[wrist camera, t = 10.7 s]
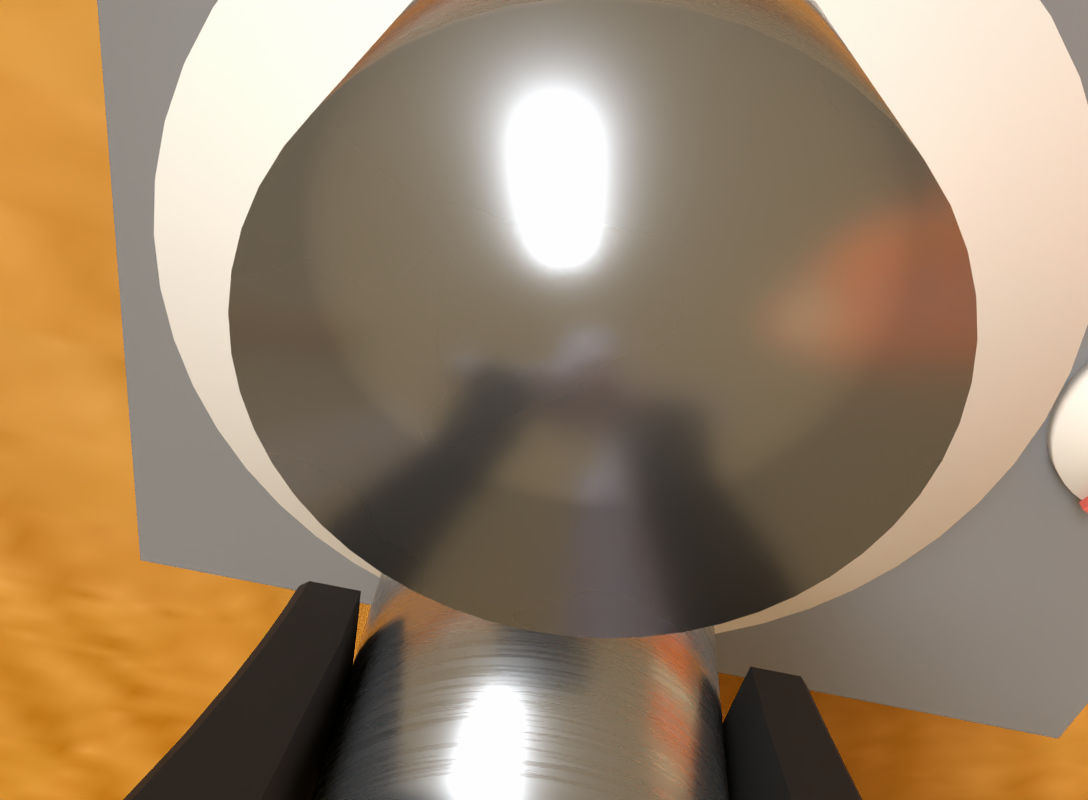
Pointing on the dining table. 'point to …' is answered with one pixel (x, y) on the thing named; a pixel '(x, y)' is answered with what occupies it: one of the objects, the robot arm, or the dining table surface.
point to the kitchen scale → (788, 627)
